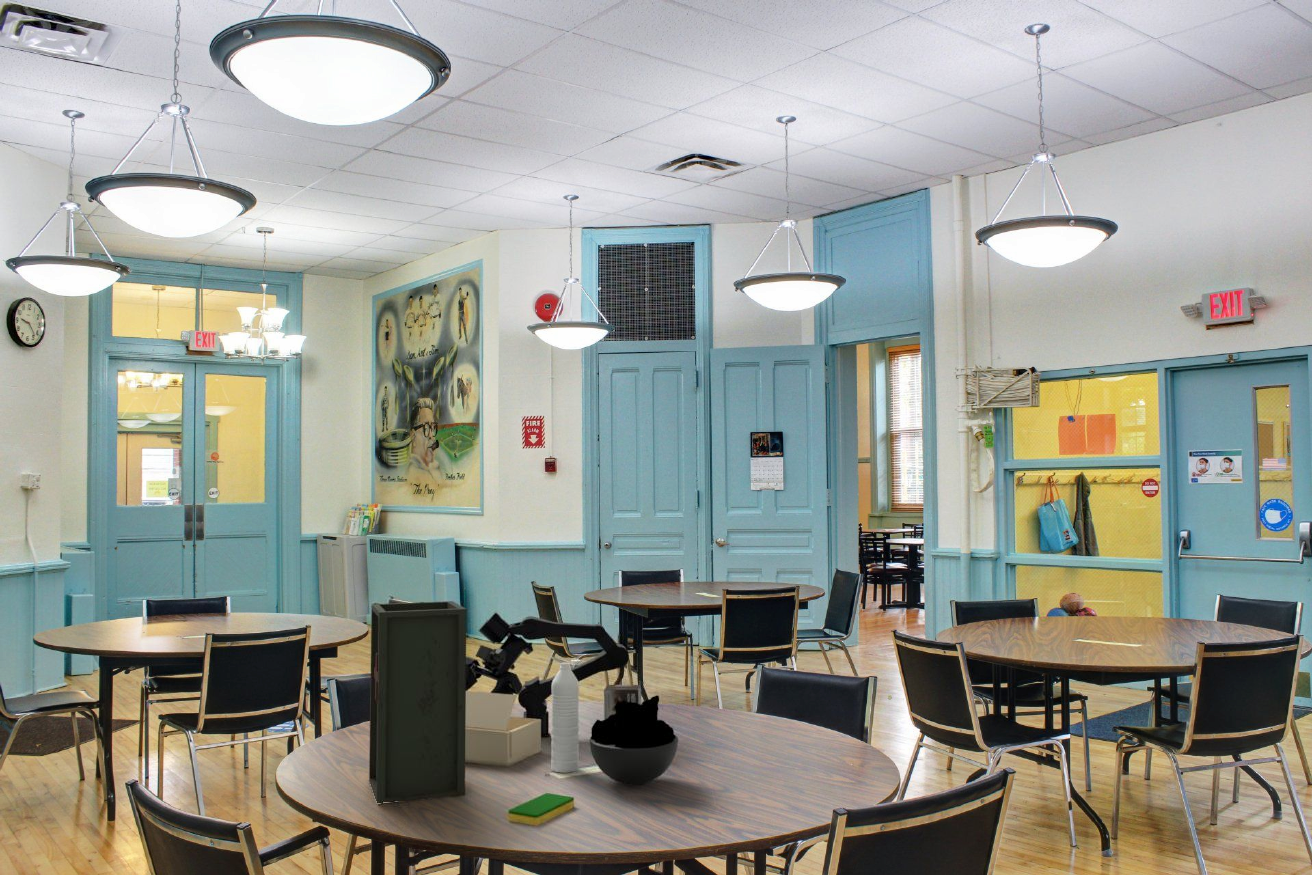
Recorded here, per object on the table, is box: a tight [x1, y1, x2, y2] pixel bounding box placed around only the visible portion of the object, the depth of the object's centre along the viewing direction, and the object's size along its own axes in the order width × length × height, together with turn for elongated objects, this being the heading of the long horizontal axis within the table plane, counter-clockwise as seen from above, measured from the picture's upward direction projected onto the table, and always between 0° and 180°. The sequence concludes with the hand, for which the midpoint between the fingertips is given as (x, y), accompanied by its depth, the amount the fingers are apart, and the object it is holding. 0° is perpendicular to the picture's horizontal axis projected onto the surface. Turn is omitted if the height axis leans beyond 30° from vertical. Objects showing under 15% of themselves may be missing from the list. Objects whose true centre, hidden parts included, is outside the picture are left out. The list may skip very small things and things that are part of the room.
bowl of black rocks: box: [589, 694, 679, 786], centre depth 229 cm, size 20×20×19 cm
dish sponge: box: [507, 792, 575, 826], centre depth 207 cm, size 7×14×2 cm, turn 152°
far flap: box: [465, 690, 518, 731], centre depth 250 cm, size 9×19×1 cm
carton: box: [465, 716, 542, 768], centre depth 255 cm, size 16×21×8 cm
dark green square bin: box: [368, 600, 467, 804], centre depth 226 cm, size 18×18×40 cm
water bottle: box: [550, 659, 582, 774], centre depth 242 cm, size 9×6×25 cm
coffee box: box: [603, 684, 642, 720], centre depth 259 cm, size 9×6×16 cm
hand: (471, 699), depth 265 cm, fingers open, 9 cm apart
